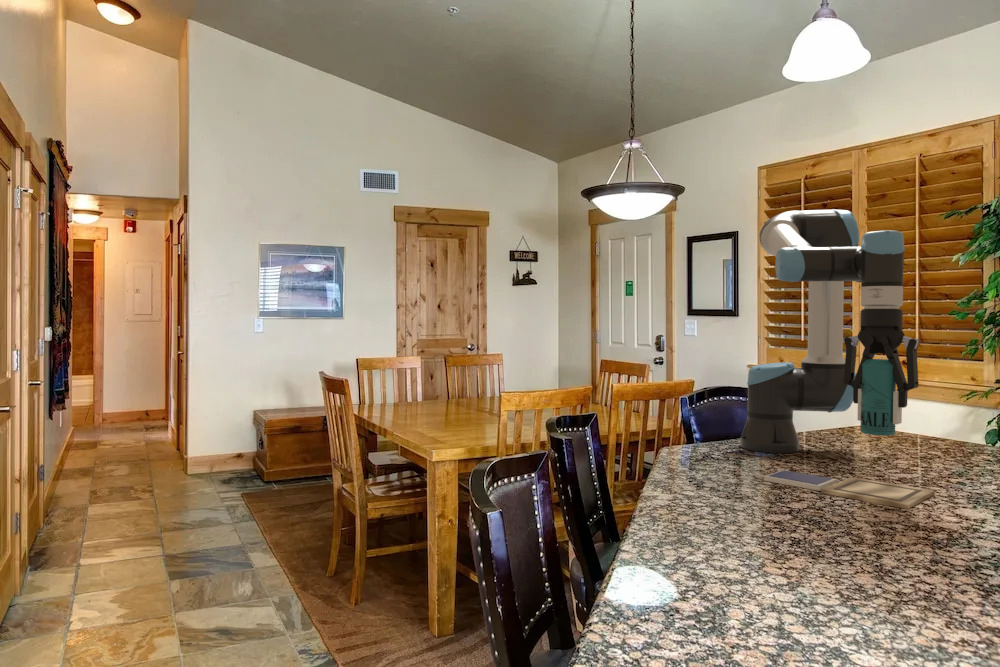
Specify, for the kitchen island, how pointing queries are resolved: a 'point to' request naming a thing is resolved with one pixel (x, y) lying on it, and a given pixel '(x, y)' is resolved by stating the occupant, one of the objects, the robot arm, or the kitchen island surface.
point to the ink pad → (800, 480)
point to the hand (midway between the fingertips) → (879, 421)
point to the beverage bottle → (877, 395)
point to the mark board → (878, 492)
